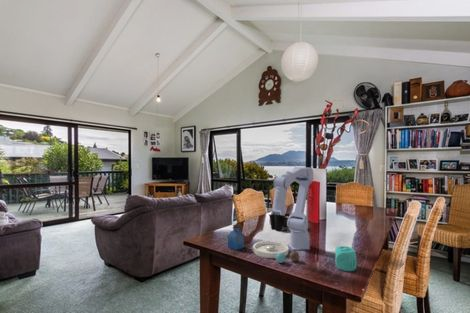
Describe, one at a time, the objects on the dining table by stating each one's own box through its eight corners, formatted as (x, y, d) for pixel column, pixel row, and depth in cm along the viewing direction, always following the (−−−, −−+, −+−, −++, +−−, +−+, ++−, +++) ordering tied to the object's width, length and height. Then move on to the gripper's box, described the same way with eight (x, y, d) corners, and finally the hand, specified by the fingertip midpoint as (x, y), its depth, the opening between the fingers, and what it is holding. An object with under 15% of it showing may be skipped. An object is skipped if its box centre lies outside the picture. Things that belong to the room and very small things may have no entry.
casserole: (295, 234, 156) (295, 221, 156) (268, 230, 166) (268, 217, 166) (306, 225, 177) (306, 213, 177) (282, 222, 187) (282, 211, 187)
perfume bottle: (235, 244, 137) (235, 223, 138) (244, 247, 134) (244, 224, 134) (227, 247, 133) (227, 225, 133) (236, 250, 129) (236, 227, 129)
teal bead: (283, 260, 116) (283, 251, 116) (286, 264, 111) (286, 254, 112) (274, 260, 115) (274, 251, 115) (277, 264, 111) (277, 255, 111)
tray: (282, 244, 137) (282, 240, 137) (293, 257, 119) (293, 252, 119) (250, 245, 135) (250, 241, 135) (257, 259, 117) (257, 254, 117)
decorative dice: (335, 269, 106) (335, 251, 106) (335, 262, 114) (335, 245, 114) (356, 272, 103) (356, 253, 104) (354, 265, 111) (354, 247, 111)
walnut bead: (297, 258, 118) (297, 249, 118) (300, 262, 113) (300, 253, 113) (288, 259, 117) (288, 250, 117) (291, 263, 113) (291, 253, 113)
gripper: (267, 200, 124) (263, 227, 122) (275, 199, 110) (271, 230, 107) (281, 202, 125) (277, 230, 122) (290, 202, 111) (287, 233, 108)
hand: (275, 230), depth 115 cm, fingers open, 7 cm apart
